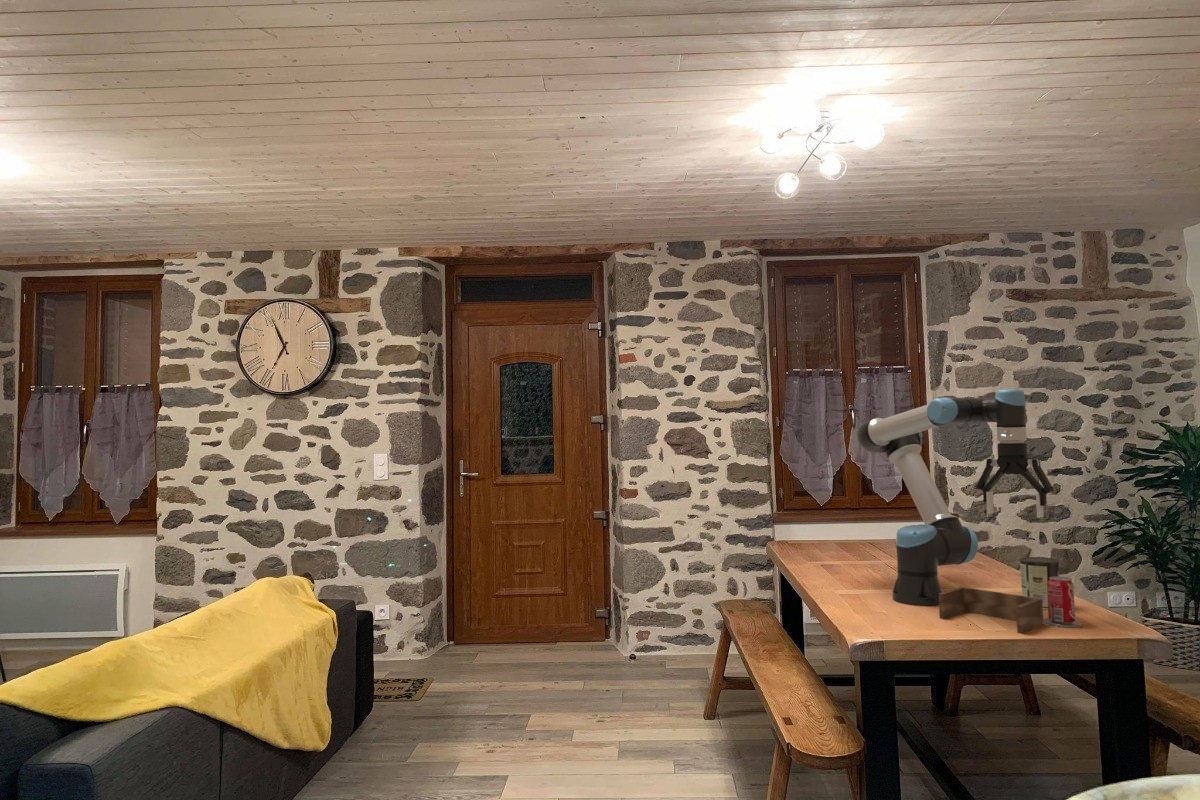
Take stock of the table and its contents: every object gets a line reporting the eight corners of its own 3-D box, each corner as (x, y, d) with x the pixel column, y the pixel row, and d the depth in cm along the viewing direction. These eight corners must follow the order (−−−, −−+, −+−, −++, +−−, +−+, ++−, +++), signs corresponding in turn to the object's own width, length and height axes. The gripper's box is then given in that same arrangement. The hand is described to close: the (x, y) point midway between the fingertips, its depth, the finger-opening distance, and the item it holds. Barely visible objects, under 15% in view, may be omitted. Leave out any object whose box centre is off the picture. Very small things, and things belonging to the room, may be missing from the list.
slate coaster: (1037, 624, 204) (1037, 622, 204) (1050, 618, 209) (1050, 616, 209) (1074, 630, 197) (1074, 628, 197) (1087, 624, 202) (1086, 622, 202)
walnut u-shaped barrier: (939, 619, 211) (938, 593, 211) (962, 611, 219) (961, 586, 220) (1022, 634, 194) (1021, 607, 194) (1043, 625, 202) (1042, 598, 203)
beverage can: (1071, 620, 205) (1069, 576, 205) (1078, 625, 199) (1076, 580, 200) (1046, 618, 207) (1044, 575, 207) (1051, 624, 201) (1049, 579, 202)
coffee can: (1053, 603, 228) (1051, 556, 228) (1067, 611, 217) (1064, 562, 218) (1016, 602, 230) (1014, 556, 230) (1028, 610, 220) (1026, 562, 220)
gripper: (962, 442, 223) (965, 513, 222) (1054, 442, 204) (1057, 520, 203) (974, 441, 228) (976, 511, 227) (1064, 442, 208) (1067, 517, 207)
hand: (1014, 515), depth 215 cm, fingers open, 13 cm apart
